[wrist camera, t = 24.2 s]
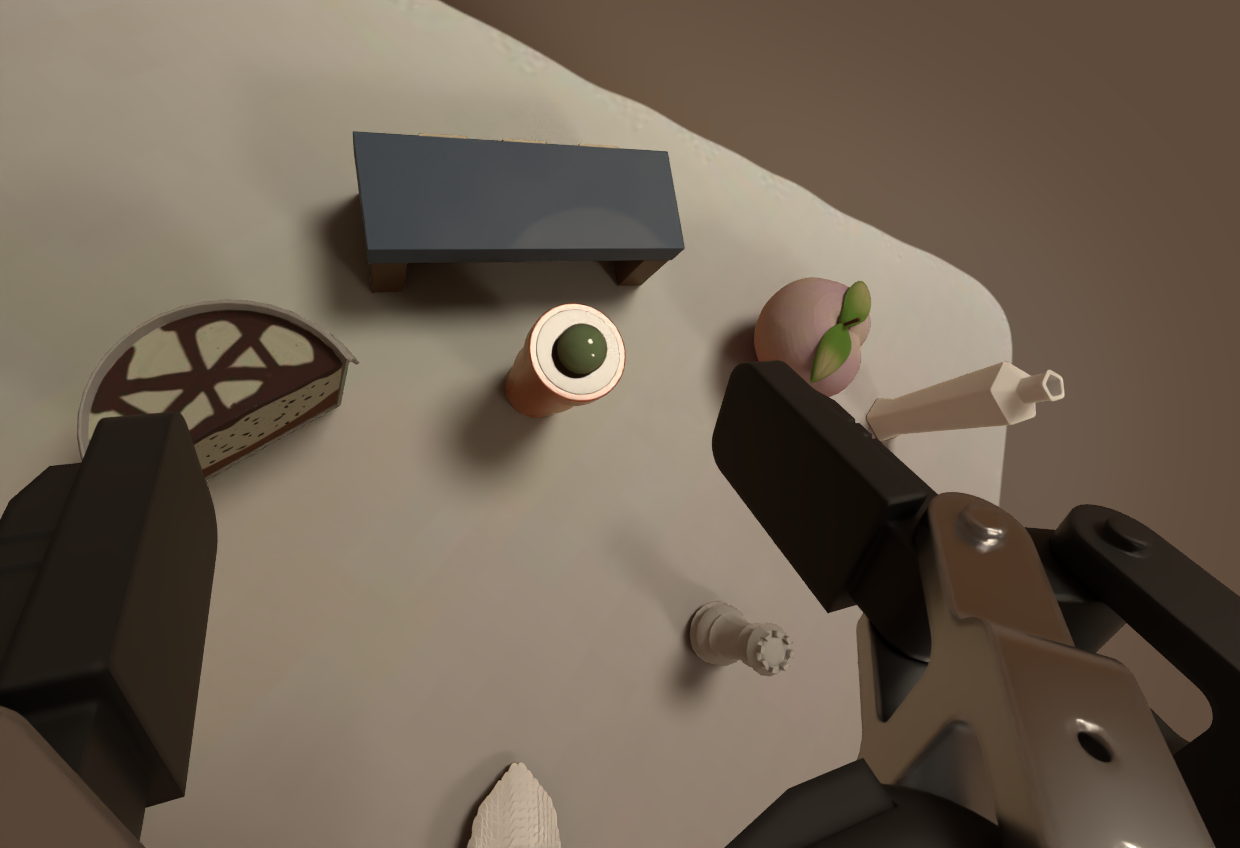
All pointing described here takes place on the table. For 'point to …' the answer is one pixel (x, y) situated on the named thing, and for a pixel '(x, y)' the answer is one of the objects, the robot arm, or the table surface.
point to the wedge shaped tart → (220, 377)
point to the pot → (566, 361)
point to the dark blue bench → (512, 204)
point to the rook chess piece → (739, 640)
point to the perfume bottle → (966, 402)
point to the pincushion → (516, 814)
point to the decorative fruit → (816, 331)
